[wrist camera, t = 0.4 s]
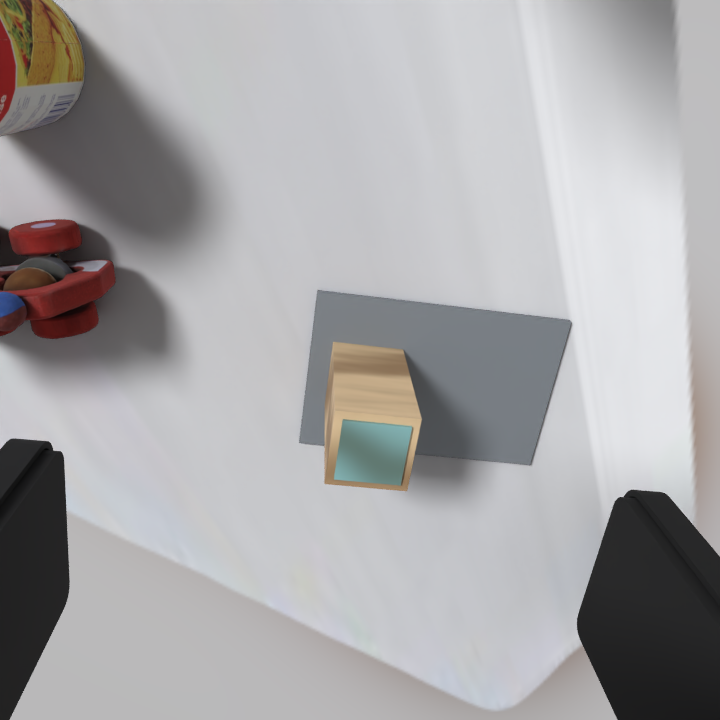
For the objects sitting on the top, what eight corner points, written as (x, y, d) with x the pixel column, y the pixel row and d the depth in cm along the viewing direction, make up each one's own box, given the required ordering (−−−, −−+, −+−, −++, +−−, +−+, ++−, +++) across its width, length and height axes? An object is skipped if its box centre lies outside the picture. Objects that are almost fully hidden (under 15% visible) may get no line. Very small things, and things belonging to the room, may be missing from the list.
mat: (317, 290, 45) (317, 292, 45) (569, 320, 47) (571, 322, 47) (299, 440, 50) (299, 442, 50) (528, 462, 52) (530, 464, 52)
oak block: (333, 341, 47) (335, 412, 37) (403, 349, 47) (422, 421, 38) (324, 404, 49) (324, 485, 39) (391, 411, 49) (407, 493, 40)
